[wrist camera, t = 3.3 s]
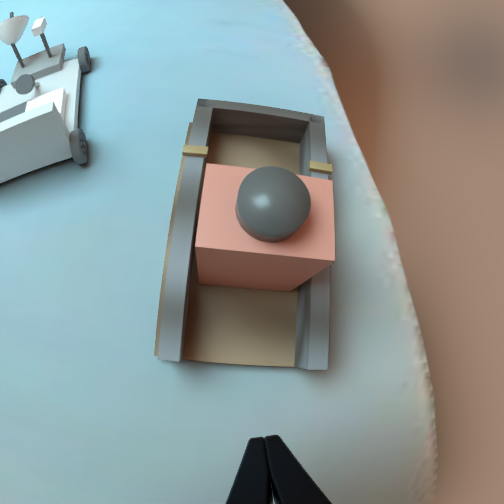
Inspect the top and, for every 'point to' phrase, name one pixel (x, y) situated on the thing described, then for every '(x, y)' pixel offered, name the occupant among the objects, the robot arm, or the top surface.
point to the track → (235, 298)
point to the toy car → (40, 105)
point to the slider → (263, 227)
